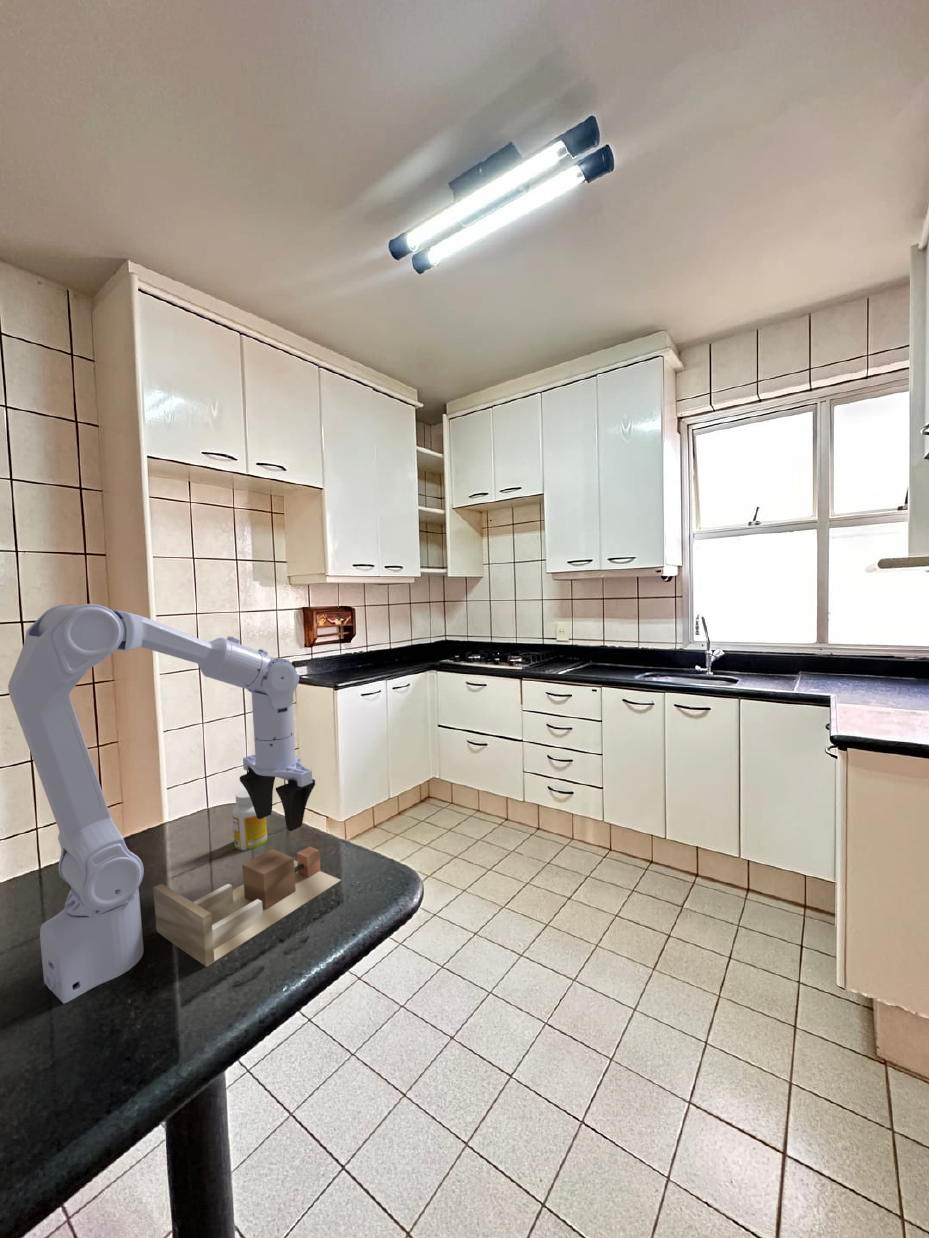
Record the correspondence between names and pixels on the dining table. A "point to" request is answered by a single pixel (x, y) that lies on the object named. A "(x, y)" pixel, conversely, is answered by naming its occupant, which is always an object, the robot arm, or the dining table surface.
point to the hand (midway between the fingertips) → (279, 822)
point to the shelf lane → (226, 915)
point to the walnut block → (277, 874)
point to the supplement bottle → (247, 824)
